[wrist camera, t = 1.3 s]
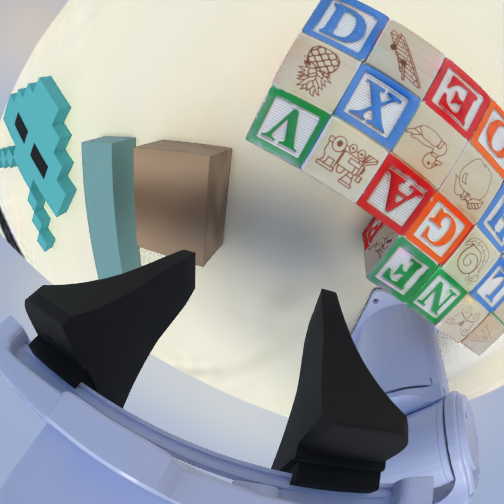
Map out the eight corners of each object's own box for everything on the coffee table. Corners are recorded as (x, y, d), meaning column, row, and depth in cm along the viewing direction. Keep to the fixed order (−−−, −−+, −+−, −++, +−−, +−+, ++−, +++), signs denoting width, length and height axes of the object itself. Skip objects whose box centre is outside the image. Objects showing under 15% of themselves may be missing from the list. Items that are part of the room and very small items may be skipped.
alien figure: (55, 244, 32) (102, 146, 22) (44, 251, 31) (86, 151, 20) (4, 156, 28) (39, 52, 18) (-6, 160, 27) (25, 53, 16)
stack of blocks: (332, 22, 12) (252, 167, 19) (328, -16, 7) (216, 191, 14) (538, 204, 12) (458, 307, 19) (579, 236, 7) (477, 359, 13)
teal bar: (148, 323, 32) (136, 339, 29) (124, 312, 32) (111, 326, 30) (135, 137, 20) (111, 143, 18) (104, 136, 21) (81, 142, 19)
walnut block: (223, 242, 23) (203, 266, 20) (163, 226, 24) (137, 246, 21) (233, 147, 19) (209, 156, 16) (164, 139, 20) (133, 147, 17)
